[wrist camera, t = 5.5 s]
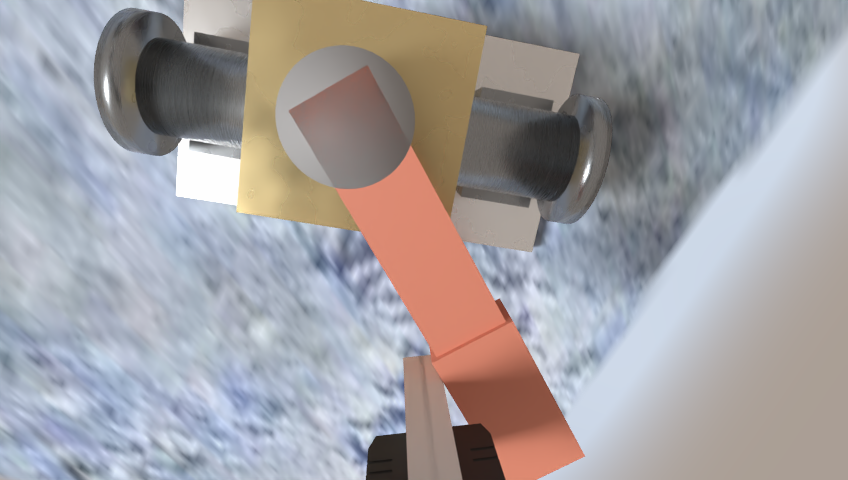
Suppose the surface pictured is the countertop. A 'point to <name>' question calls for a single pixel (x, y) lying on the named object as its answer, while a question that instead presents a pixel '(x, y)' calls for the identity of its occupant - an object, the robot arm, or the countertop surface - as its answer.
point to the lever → (420, 249)
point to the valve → (420, 70)
